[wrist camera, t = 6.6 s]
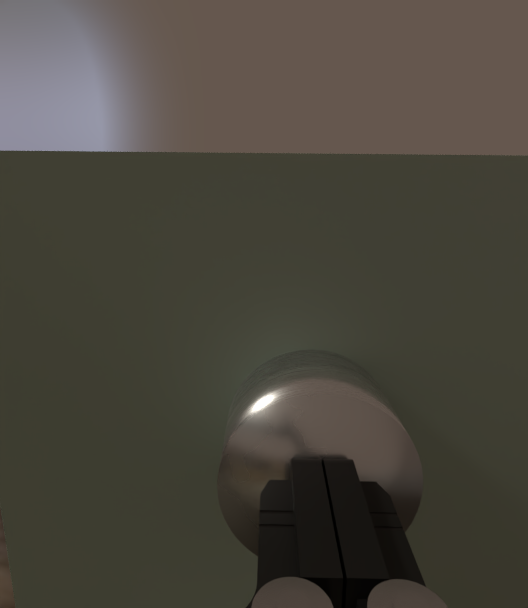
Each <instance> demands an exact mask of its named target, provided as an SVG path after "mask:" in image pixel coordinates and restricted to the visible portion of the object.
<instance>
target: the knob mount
mask: <svg viewBox="0 0 528 608" xmlns="http://www.w3.org/2000/svg"><path fill="white" fill-rule="evenodd" d="M299 350H323V351H328V352H333V353H336V354H339V355H342V356H345V357H347V358H349V359H351V360H353V361H355V362H356V363H358V364H359V365H361V366H362V367H363V368H364V369H366V370H367V371H368V372H369V373H370V374H371V375H372V376H373V377H374V379H375V380H376V381H377V382H378V384H379V386H380V387H381V389H382V390H383V392H384V394H385V395H386V397H387V399H388V401H389V402H390V404H391V406H392V407H393V409H394V411H395V413H396V414H397V416H398V418H399V419H400V421H401V423H402V425H403V426H404V428H405V430H406V431H407V433H408V435H409V437H410V438H411V440H412V442H413V443H414V446H415V448H416V450H417V452H418V455H419V458H420V462H421V465H422V473H423V491H422V497H421V502H420V505H419V508H418V511H417V513H416V515H415V517H414V519H413V521H412V523H411V525H410V526H409V528H408V529H407V531H406V532H405V534H406V537H407V539H408V542H409V544H410V547H411V550H412V552H413V555H414V557H415V560H416V562H417V565H418V567H419V570H420V572H421V575H422V577H423V580H424V582H425V585H426V587H427V588H428V589H430V590H431V591H433V592H434V593H435V594H437V595H438V596H439V597H440V598H441V599H442V600H443V602H444V603H445V604H446V605H447V607H448V608H528V156H505V155H504V156H503V155H502V156H500V155H400V154H399V155H398V154H397V155H396V154H292V153H291V154H290V153H286V154H285V153H189V152H188V153H187V152H186V153H185V152H179V153H178V152H79V151H0V505H1V512H2V519H3V525H4V532H5V539H6V545H7V552H8V559H9V565H10V572H11V579H12V585H13V592H14V599H15V605H16V608H246V607H247V606H248V604H249V603H250V602H251V600H252V598H253V596H254V594H255V591H256V586H257V568H258V557H257V556H256V555H255V554H253V553H252V552H251V551H249V550H248V549H247V548H246V547H245V546H244V545H243V544H242V543H241V542H240V541H239V540H238V539H237V538H236V537H235V535H234V534H233V533H232V532H231V530H230V528H229V527H228V525H227V523H226V521H225V519H224V517H223V514H222V512H221V509H220V505H219V500H218V492H217V479H218V471H219V465H220V460H221V454H222V448H223V442H224V437H225V431H226V425H227V419H228V414H229V409H230V405H231V403H232V400H233V397H234V395H235V393H236V391H237V389H238V388H239V386H240V385H241V384H242V382H243V381H244V380H245V378H246V377H247V376H248V375H249V374H250V373H251V372H252V371H254V370H255V369H256V368H257V367H259V366H260V365H261V364H263V363H265V362H266V361H268V360H270V359H272V358H274V357H276V356H279V355H282V354H285V353H288V352H293V351H299Z"/></svg>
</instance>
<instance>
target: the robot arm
mask: <svg viewBox="0 0 528 608" xmlns="http://www.w3.org/2000/svg"><path fill="white" fill-rule="evenodd" d="M246 608H448V607H447V605H446V604H445V603H444V602H443V600H442V599H441V598H440V597H439V596H438V595H437V594H435V593H434V592H433V591H431V590H430V589H428V588H427V587H426V585H425V582H424V580H423V577H422V575H421V572H420V570H419V567H418V565H417V562H416V560H415V557H414V555H413V552H412V550H411V547H410V544H409V542H408V539H407V537H406V534H405V532H404V530H403V527H402V524H401V522H400V519H399V517H398V516H397V512H396V509H395V506H394V504H393V501H392V499H391V496H390V495H389V494H388V493H387V492H386V491H385V490H384V489H383V488H382V487H381V486H380V485H379V484H378V483H377V482H374V481H360V480H359V477H358V474H357V471H356V467H355V464H354V461H353V460H352V459H322V462H321V459H300V458H291V462H290V480H269V481H268V483H267V484H266V486H265V487H264V489H263V490H262V492H261V493H260V513H259V541H258V568H257V586H256V591H255V594H254V596H253V598H252V600H251V602H250V603H249V604H248V606H247V607H246Z"/></svg>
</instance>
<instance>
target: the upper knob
mask: <svg viewBox="0 0 528 608" xmlns="http://www.w3.org/2000/svg"><path fill="white" fill-rule="evenodd" d="M291 458H300V459H321V462H322V459H352V460H353V461H354V464H355V467H356V471H357V474H358V477H359V480H360V481H374V482H377V483H378V484H379V485H380V486H381V487H382V488H383V489H384V490H385V491H386V492H387V493H388V494H389V495H390V496H391V499H392V501H393V504H394V506H395V509H396V512H397V516H398V517H399V519H400V522H401V524H402V527H403V530H404V532H406V531H407V529H408V528H409V526H410V525H411V523H412V521H413V519H414V517H415V515H416V513H417V511H418V508H419V505H420V502H421V497H422V491H423V473H422V465H421V462H420V458H419V455H418V452H417V450H416V448H415V446H414V443H413V442H412V440H411V438H410V437H409V435H408V433H407V431H406V430H405V428H404V426H403V425H402V423H401V421H400V419H399V418H398V416H397V414H396V413H395V411H394V409H393V407H392V406H391V404H390V402H389V401H388V399H387V397H386V395H385V394H384V392H383V390H382V389H381V387H380V386H379V384H378V382H377V381H376V380H375V379H374V377H373V376H372V375H371V374H370V373H369V372H368V371H367V370H366V369H364V368H363V367H362V366H361V365H359V364H358V363H356V362H355V361H353V360H351V359H349V358H347V357H345V356H342V355H339V354H336V353H333V352H328V351H323V350H299V351H293V352H288V353H285V354H282V355H279V356H276V357H274V358H272V359H270V360H268V361H266V362H265V363H263V364H261V365H260V366H259V367H257V368H256V369H255V370H254V371H252V372H251V373H250V374H249V375H248V376H247V377H246V378H245V380H244V381H243V382H242V384H241V385H240V386H239V388H238V389H237V391H236V393H235V395H234V397H233V400H232V403H231V405H230V409H229V414H228V419H227V425H226V431H225V437H224V442H223V448H222V454H221V460H220V465H219V471H218V479H217V492H218V500H219V505H220V509H221V512H222V514H223V517H224V519H225V521H226V523H227V525H228V527H229V528H230V530H231V532H232V533H233V534H234V535H235V537H236V538H237V539H238V540H239V541H240V542H241V543H242V544H243V545H244V546H245V547H246V548H247V549H248V550H249V551H251V552H252V553H253V554H255V555H256V556H257V557H258V541H259V513H260V493H261V492H262V490H263V489H264V487H265V486H266V484H267V483H268V481H269V480H290V462H291Z"/></svg>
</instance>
